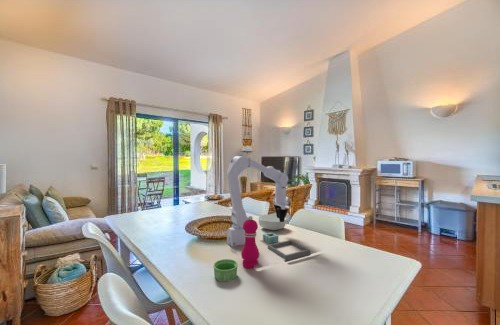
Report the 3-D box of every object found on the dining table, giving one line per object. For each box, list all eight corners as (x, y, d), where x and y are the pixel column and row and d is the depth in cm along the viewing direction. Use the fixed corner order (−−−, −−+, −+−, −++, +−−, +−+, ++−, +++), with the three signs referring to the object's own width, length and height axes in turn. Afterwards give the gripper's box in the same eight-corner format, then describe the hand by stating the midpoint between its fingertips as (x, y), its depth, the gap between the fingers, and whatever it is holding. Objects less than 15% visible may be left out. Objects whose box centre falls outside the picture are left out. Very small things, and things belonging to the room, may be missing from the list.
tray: (285, 262, 96) (285, 255, 96) (267, 250, 108) (267, 244, 108) (310, 255, 103) (310, 249, 103) (290, 245, 115) (290, 239, 115)
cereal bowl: (288, 234, 131) (288, 221, 131) (258, 233, 131) (258, 221, 131) (284, 225, 148) (284, 214, 148) (258, 224, 148) (258, 214, 148)
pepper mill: (261, 262, 96) (261, 214, 95) (256, 270, 89) (256, 219, 88) (244, 259, 98) (245, 213, 98) (238, 267, 91) (238, 217, 91)
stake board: (268, 248, 111) (268, 237, 111) (259, 242, 118) (259, 232, 118) (281, 244, 115) (281, 235, 115) (272, 239, 122) (272, 230, 122)
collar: (270, 245, 112) (270, 238, 112) (262, 240, 117) (262, 234, 117) (279, 243, 114) (279, 236, 114) (272, 239, 120) (272, 232, 120)
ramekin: (215, 284, 80) (215, 271, 79) (211, 271, 88) (211, 260, 88) (240, 280, 82) (240, 268, 82) (234, 268, 91) (234, 257, 91)
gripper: (291, 197, 118) (291, 223, 118) (284, 192, 132) (284, 216, 133) (277, 197, 117) (277, 223, 118) (272, 192, 132) (272, 216, 132)
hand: (280, 219), depth 125 cm, fingers open, 7 cm apart
